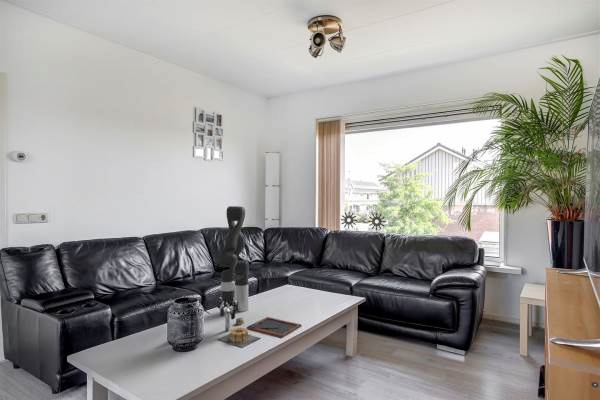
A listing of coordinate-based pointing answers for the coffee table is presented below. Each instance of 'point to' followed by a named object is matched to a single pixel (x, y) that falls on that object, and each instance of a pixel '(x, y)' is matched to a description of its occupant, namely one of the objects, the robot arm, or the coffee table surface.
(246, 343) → the cake on slate board
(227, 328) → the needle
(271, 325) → the picture frame
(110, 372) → the coffee table surface
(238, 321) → the bead
